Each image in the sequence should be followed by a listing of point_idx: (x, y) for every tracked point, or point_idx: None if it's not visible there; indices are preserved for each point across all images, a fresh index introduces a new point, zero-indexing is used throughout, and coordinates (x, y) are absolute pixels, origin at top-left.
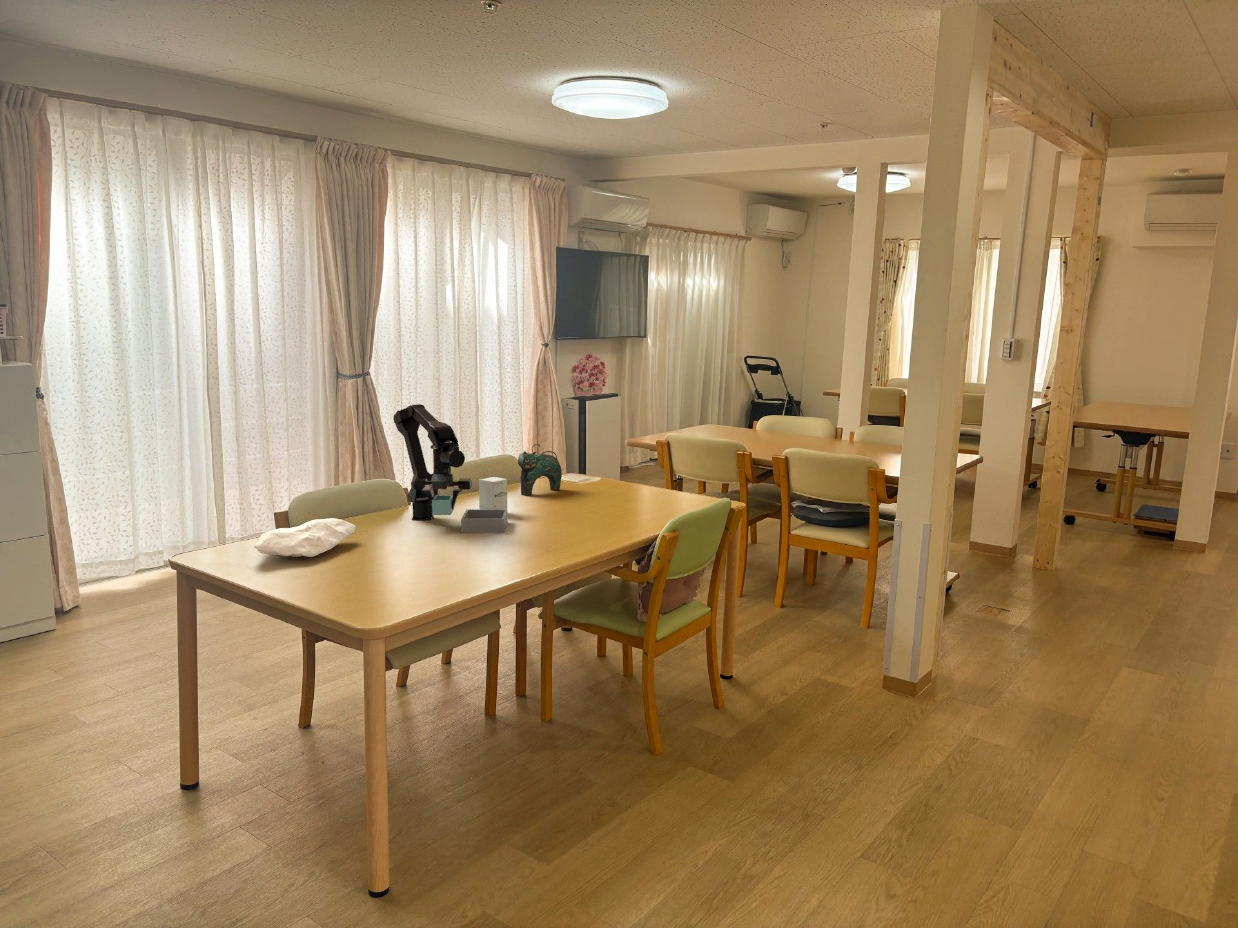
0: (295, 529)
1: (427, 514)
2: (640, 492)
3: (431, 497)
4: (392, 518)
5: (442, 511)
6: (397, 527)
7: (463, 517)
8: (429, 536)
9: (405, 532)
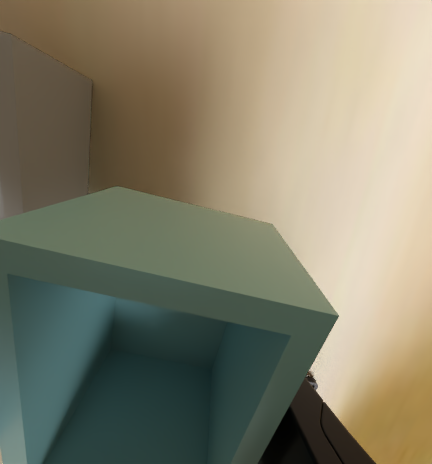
0: None
1: None
2: None
3: (317, 444)
4: (379, 413)
5: (182, 211)
6: (413, 284)
7: (2, 107)
8: (303, 13)
9: (414, 171)
